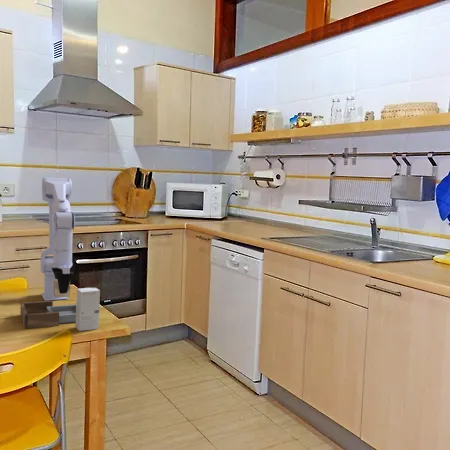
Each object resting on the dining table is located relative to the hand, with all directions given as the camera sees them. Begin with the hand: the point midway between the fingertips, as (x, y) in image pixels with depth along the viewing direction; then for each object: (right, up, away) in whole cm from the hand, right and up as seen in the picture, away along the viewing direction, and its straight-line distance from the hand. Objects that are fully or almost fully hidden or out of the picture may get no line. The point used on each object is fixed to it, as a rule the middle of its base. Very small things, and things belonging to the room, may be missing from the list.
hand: (62, 291), depth 156 cm
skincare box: (+10, -10, -8) cm, 17 cm away
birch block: (0, -1, 0) cm, 1 cm away
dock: (-6, -9, -3) cm, 11 cm away
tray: (+2, -9, +1) cm, 9 cm away
